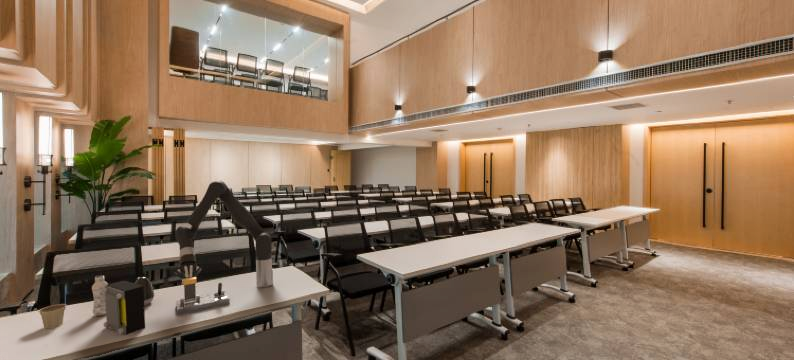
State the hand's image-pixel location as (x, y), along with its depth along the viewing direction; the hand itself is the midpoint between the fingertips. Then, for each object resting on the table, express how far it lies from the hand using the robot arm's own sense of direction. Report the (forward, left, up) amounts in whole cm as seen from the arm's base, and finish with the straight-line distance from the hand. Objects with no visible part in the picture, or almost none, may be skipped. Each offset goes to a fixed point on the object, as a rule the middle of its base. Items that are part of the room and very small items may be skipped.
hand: (189, 284), depth 180 cm
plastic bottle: (+38, -17, -13) cm, 43 cm away
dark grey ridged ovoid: (+21, -21, -13) cm, 32 cm away
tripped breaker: (0, 0, -8) cm, 8 cm away
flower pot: (+55, -15, -13) cm, 58 cm away
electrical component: (+27, +8, -13) cm, 31 cm away
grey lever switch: (-6, 0, -12) cm, 14 cm away
